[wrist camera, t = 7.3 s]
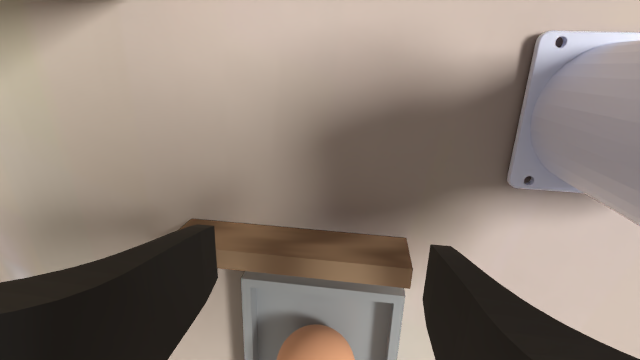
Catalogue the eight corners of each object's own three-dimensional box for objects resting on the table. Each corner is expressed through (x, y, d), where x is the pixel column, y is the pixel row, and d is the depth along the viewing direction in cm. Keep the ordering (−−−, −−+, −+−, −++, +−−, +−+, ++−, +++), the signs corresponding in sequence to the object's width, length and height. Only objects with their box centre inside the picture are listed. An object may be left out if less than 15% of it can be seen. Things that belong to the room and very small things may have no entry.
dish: (402, 280, 22) (405, 296, 21) (387, 399, 26) (389, 421, 24) (249, 264, 24) (240, 278, 22) (253, 379, 27) (246, 399, 25)
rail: (406, 238, 22) (412, 269, 18) (404, 255, 22) (410, 288, 19) (191, 218, 23) (162, 243, 20) (193, 234, 24) (164, 262, 20)
